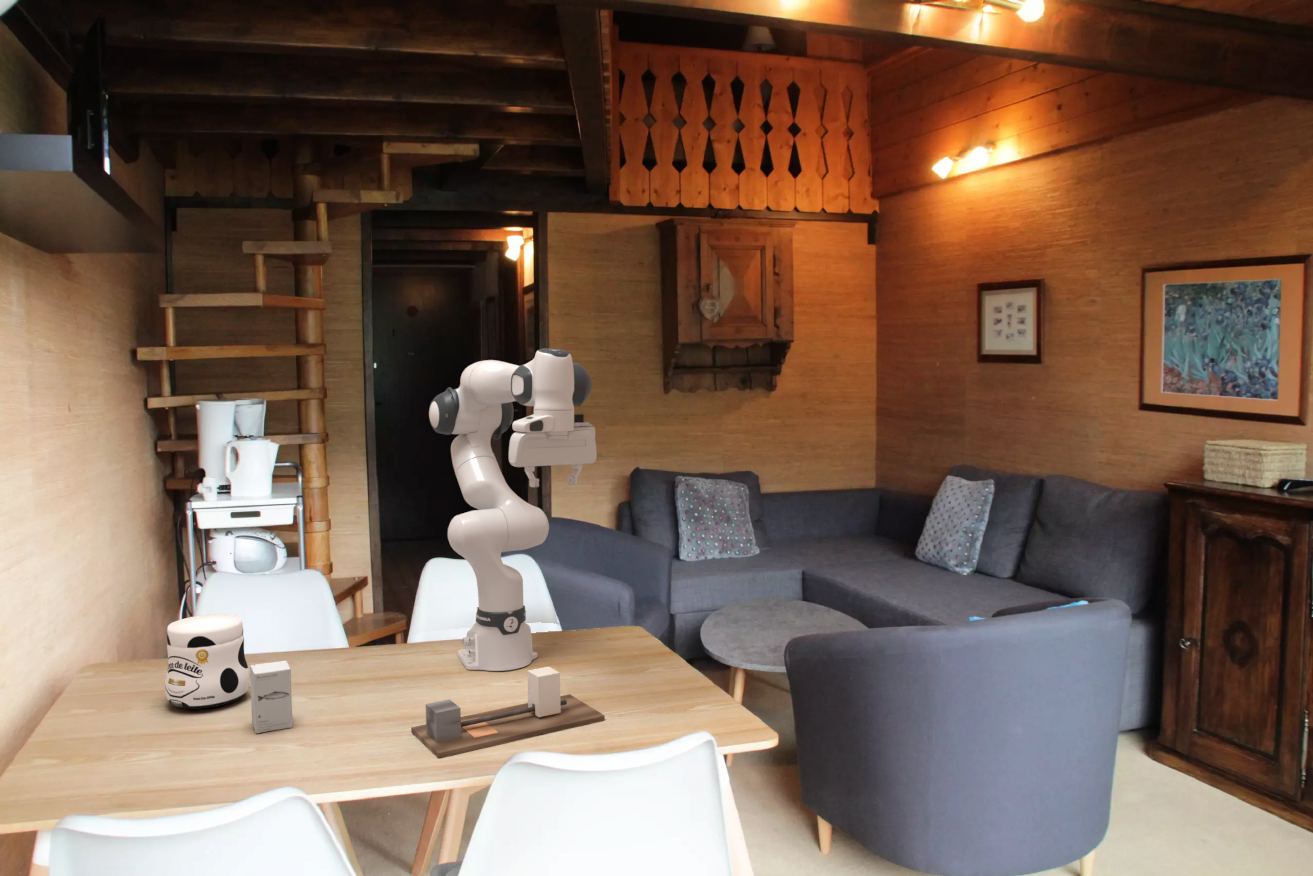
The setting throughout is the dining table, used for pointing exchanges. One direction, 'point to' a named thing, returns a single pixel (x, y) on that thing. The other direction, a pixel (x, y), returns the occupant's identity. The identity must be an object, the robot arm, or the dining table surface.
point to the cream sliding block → (544, 691)
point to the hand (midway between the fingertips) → (553, 485)
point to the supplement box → (271, 696)
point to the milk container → (206, 661)
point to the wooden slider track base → (495, 725)
